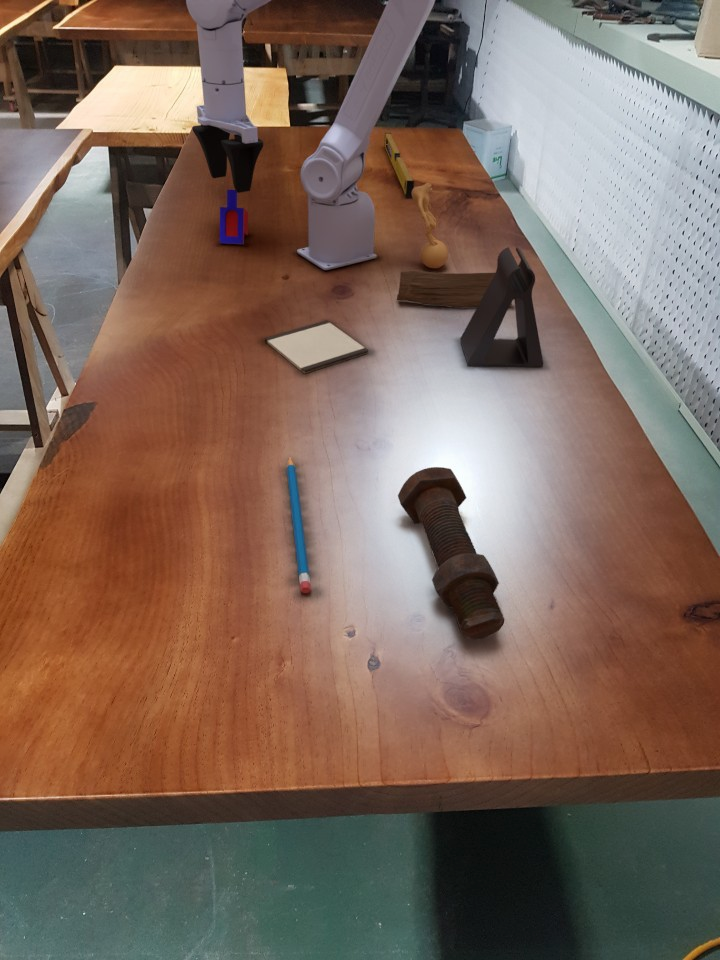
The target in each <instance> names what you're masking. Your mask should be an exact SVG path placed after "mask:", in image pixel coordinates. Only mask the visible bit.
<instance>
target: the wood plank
mask: <svg viewBox="0 0 720 960" xmlns="http://www.w3.org/2000/svg"><path fill="white" fill-rule="evenodd" d="M495 273H496V272H469V273H467V272H465V273H453V272H452V273H451V272H450V273H449V272H448V273H447V272H446V273H445V272H431V271H424V270H423V271H422V270H406V271H404V270H403V271H400V275H399V285H398V292H397V293H398V294H397V295H396V302H397V301H399V302H400V301H401V302H402V301H403V302H404V301H406V302H411V303H417V304H421V305H428V306H440V307H450V308H477V307H478V305H479V303H480V301H481V299H482V297H483V296H484V294H485V292H486V290H487V288H488V286H489V285H490V283H491V281H492V279H493V277H494V275H495ZM512 303H513V301H512V302H511V303H510V306H509V308H512ZM509 308H508V309H509Z"/></svg>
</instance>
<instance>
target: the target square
mask: <svg viewBox="0 0 720 960" xmlns="http://www.w3.org/2000/svg"><path fill="white" fill-rule="evenodd" d="M264 342H265V343H267V344H268V346H270V347H271V348H272V349H274V350H275V351H276V352H277V353H278V354H279V355H281V356H282V357H283V358H284V359H286V360H287V361H288V362H290V364H292V365H293V366H294V367H295V368H296V369H298V370H299V371H300V372H301V373H303V374H308V373H311V372H315V371H317V370H320V369H323V368H327V367H329V366H333V365H336V364H339V363H342V362H345V361H348V360H352V359H354V358H357V357H361V356H364V355H367V354H369V349H368V348H366V347H364V346H363V345H361V344H360V343H359V342H357V341H356V340H354V339H353V338H352V337H350V336H349V335H348V334H346V333H345V332H344V331H342V330H341V329H339V328H338V327H336V325H334V324H333V323H332V322H330V321H328V320H323V321H320V322H317V323H313V324H309V325H306V326H303V327H299V328H296V329H295V328H294V329H292V330H288V331H285V332H281V333H277V334H274V335H271V336H267V337H265V338H264Z"/></svg>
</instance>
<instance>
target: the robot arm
mask: <svg viewBox="0 0 720 960" xmlns="http://www.w3.org/2000/svg"><path fill="white" fill-rule="evenodd" d="M270 2H272V0H185V3H186V8H187V10H188V14H189V15H190V17H191V19H192V21H194V22H195V23H196V30H197V42H198V52H199V54H198V55H199V64H200V73H201V74H200V76H201V86H202V87H201V88H202V99H203V104H201V105H196V115H197V123H198V124H197V125H193V126H192V132H193V134H194V135H195V137H196V139H197V140H198V142H199V145H200V147H201V149H202V152H203V154H204V157H205V160H206V164H207V167H208V171H209V173H210V176H211V178H212V179H218V178H225V177H226V176H227V171H228V162H229V168H230V172H231V178H232V184H233V188H234V190H235V191H236V192H237V194H240V193H247V192H251V188H252V184H253V178H254V172H255V169H256V164H257V161H258V158H259V155H260V153H261V151H262V149H263V148H264V140H262V139H260V138H258V137H259V135H258V133H259V132H258V126H256V125H254V123H253V122H252V121H251V119H250V118H249V116H248V114H247V106H246V105H247V104H246V87H245V86H246V85H245V73H244V53H243V37H242V35H243V30H242V29H243V28H242V27H243V26H242V25H243V21H244V19H245V18H246V15H248V14H250V13H251V12H253V11H255V10H257V9H259V8H261V7H262V6H264V5H266V4H267V3H270ZM435 2H436V0H387V3H386V5H385V7H384V9H383V12H382V13H381V16H380V18H379V20H378V23H377V25H376V28H375V30H374V32H373V34H372V37H371V39H370V41H369V43H368V45H367V48H366V49H365V52H364V55H363V57H362V59H361V61H360V64H359V65H358V68H357V70H356V72H355V75H354V76H353V79H352V81H351V83H350V85H349V88H348V90H347V93H346V95H345V97H344V99H343V101H342V104H341V106H340V108H339V111H338V112H337V115H336V117H335V119H334V122H333V123H332V125H331V126H330V128H329V129H328V131H327V132H326V133H325V135H324V136H323V137H322V139H321V140H320V142H319V145H318V147H317V148H316V150H315V151H314V153H312V154H311V155H310V156H308V157H307V158H305V160H304V162H303V163H302V166H301V168H300V183H301V185H302V188H303V189H304V191H305V193H306V194H307V225H308V226H307V231H308V232H307V233H308V234H307V236H308V237H307V242H308V243H307V244H308V245H307V246H306V247H303V248H298V249H297V250H296V253H297V254H298V255H299V256H301V257H303V258H304V259H306V260H307V261H309V262H310V263H312V264H313V265H315V266H317V267H318V268H320V269H322V270H323V271H330V270H333V269H338V268H341V267H345V266H349V265H354V264H359V263H362V262H366V261H370V260H374V259H377V254H376V253H375V252H374V249H375V248H374V247H375V231H376V230H375V229H376V211H375V210H376V209H375V205H374V202H373V200H372V198H371V196H370V195H369V194H368V193H366V191H363V190H361V191H360V190H359V188H358V184H357V182H359V181H360V179H362V176H363V175H364V172H365V169H366V154H367V152H368V149H369V147H370V145H371V139H370V138H371V134H372V132H373V130H374V128H375V127H376V124H377V122H378V121H379V118H380V116H381V114H382V112H383V110H384V108H385V106H386V103H387V102H388V99H389V97H390V95H391V93H392V91H393V89H394V87H395V86H396V83H397V81H398V79H399V78H400V75H401V73H402V71H403V69H404V66H405V65H406V63H407V61H408V58H409V57H410V55H411V52H412V50H413V49H414V46H415V45H416V42H417V40H418V38H419V36H420V34H421V32H422V30H423V28H424V26H425V24H426V21H427V20H428V18H429V16H430V13H431V12H432V9H433V7H434V5H435ZM231 135H232V136H233V138H230V137H231Z"/></svg>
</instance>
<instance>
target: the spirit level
mask: <svg viewBox="0 0 720 960" xmlns="http://www.w3.org/2000/svg"><path fill="white" fill-rule="evenodd" d="M384 142H385V143H386V144H388V145H386V144H385V143H384V144H383V148H384V149H385V151H386V154H387V155H388V158H389V160H390V163H391V165H392V168H393V169H394V172H395V174H396V177H397V179H398V181H399V183H400V186H401V188H402V190H403V193H404V195H405V199H413V198H412V190H413V188H415V180H413V178H412V176H411V174H410V171H409V169H408V167H407V165H406V163H405V161H404V159H403V157H401V153H400V151H399V148H398V146H397V144H396V143H395V140H394V138H393V136H392V132H385V133H384ZM388 147H389V148H388ZM389 149H390V150H389Z"/></svg>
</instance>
